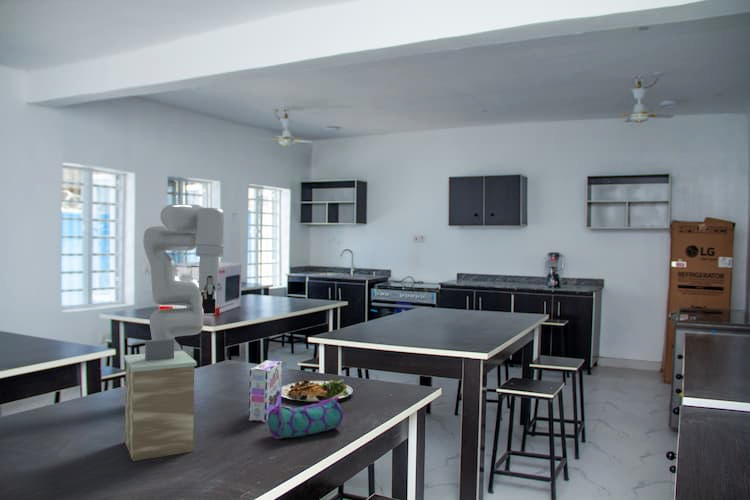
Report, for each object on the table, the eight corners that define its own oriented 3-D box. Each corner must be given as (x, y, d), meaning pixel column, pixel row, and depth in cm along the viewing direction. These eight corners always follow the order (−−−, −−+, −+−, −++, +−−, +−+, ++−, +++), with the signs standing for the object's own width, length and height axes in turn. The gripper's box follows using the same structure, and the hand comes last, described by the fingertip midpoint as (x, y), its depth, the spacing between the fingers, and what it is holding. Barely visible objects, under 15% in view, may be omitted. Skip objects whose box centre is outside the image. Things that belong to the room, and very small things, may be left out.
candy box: (265, 423, 181) (266, 370, 180) (248, 421, 182) (248, 368, 182) (281, 409, 195) (282, 360, 194) (265, 408, 196) (266, 359, 195)
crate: (124, 442, 162) (125, 359, 161) (180, 433, 170) (181, 354, 169) (132, 461, 149) (133, 371, 149) (193, 451, 157) (194, 365, 156)
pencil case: (279, 444, 163) (280, 410, 163) (266, 435, 171) (267, 402, 170) (344, 432, 175) (344, 400, 175) (329, 423, 182) (330, 392, 182)
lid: (123, 362, 162) (123, 337, 161) (183, 357, 170) (183, 333, 170) (132, 375, 148) (132, 348, 148) (196, 369, 156) (197, 343, 156)
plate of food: (367, 393, 218) (367, 376, 217) (321, 411, 194) (321, 392, 194) (308, 383, 233) (308, 368, 233) (259, 399, 209) (259, 382, 209)
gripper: (195, 249, 174) (194, 307, 175) (196, 252, 158) (195, 315, 158) (221, 250, 176) (220, 306, 177) (225, 252, 160) (224, 315, 161)
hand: (208, 311), depth 168 cm, fingers open, 9 cm apart
